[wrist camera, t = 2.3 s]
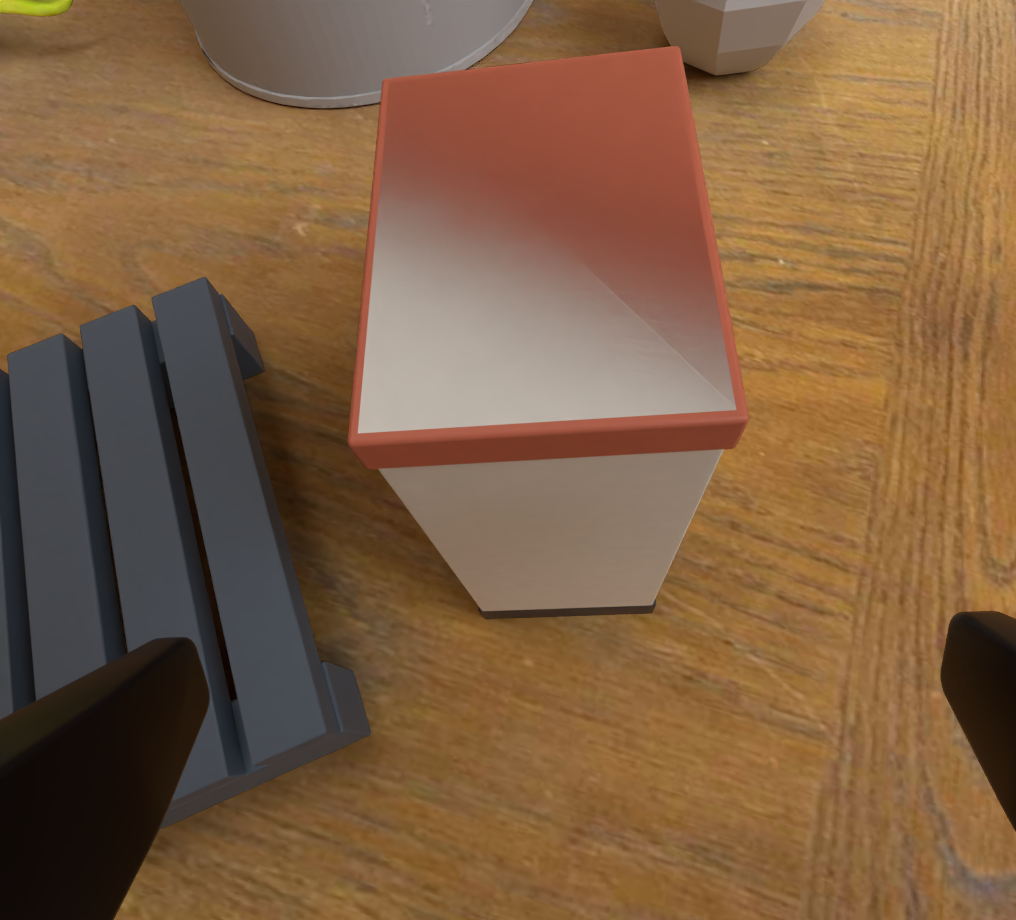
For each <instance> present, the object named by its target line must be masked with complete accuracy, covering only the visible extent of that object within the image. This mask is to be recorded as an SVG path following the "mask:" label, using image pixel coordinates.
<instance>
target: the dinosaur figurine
mask: <svg viewBox="0 0 1016 920" xmlns="http://www.w3.org/2000/svg"><path fill="white" fill-rule="evenodd" d="M72 2H73V0H0V13H6V14H11V13H14V14H21V15H30V16H55V15H58V14H61V13H64V12H66V11H67V10H68V9H69V8H70V7H71V5H72Z"/></svg>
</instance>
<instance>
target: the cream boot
mask: <svg viewBox="0 0 1016 920" xmlns="http://www.w3.org/2000/svg"><path fill="white" fill-rule="evenodd" d="M748 420H749V414H748V408H747V403H746V398H745V392H744V387H743V382H742V376H741V371H740V365H739V360H738V355H737V349H736V344H735V339H734V333H733V328H732V323H731V317H730V312H729V306H728V301H727V296H726V290H725V285H724V280H723V274H722V269H721V263H720V258H719V253H718V247H717V242H716V237H715V231H714V226H713V221H712V215H711V210H710V204H709V199H708V194H707V188H706V183H705V178H704V172H703V167H702V162H701V156H700V151H699V145H698V140H697V135H696V129H695V124H694V119H693V113H692V108H691V102H690V97H689V92H688V86H687V81H686V76H685V70H684V65H683V60H682V54H681V50H680V47H678V46H670V47H661V48H652V49H643V50H634V51H625V52H616V53H608V54H599V55H590V56H581V57H572V58H563V59H555V60H546V61H537V62H528V63H519V64H510V65H501V66H493V67H484V68H475V69H466V70H457V71H448V72H439V73H431V74H422V75H413V76H404V77H395V78H386V79H384V80H383V81H382V89H381V100H380V110H379V120H378V131H377V141H376V151H375V162H374V172H373V183H372V193H371V203H370V214H369V224H368V235H367V245H366V255H365V266H364V276H363V286H362V297H361V307H360V318H359V328H358V338H357V349H356V359H355V370H354V380H353V390H352V401H351V411H350V421H349V432H348V445H349V447H350V448H351V450H352V451H353V452H354V453H355V455H356V456H357V457H358V459H359V460H360V461H361V462H362V464H363V465H364V466H365V468H368V469H378V470H379V471H380V473H381V474H382V475H383V477H384V478H385V479H386V481H387V482H388V483H389V485H390V486H391V488H392V489H393V490H394V492H395V493H396V494H397V496H398V497H399V498H400V500H401V501H402V502H403V504H404V505H405V507H406V508H407V509H408V511H409V512H410V513H411V515H412V516H413V517H414V519H415V520H416V522H417V523H418V524H419V526H420V527H421V528H422V530H423V531H424V532H425V534H426V535H427V537H428V538H429V539H430V541H431V542H432V543H433V545H434V546H435V547H436V549H437V550H438V552H439V553H440V554H441V556H442V557H443V558H444V560H445V561H446V562H447V564H448V565H449V566H450V568H451V569H452V571H453V572H454V573H455V575H456V576H457V577H458V579H459V580H460V581H461V583H462V584H463V586H464V587H465V588H466V590H467V591H468V592H469V594H470V595H471V596H472V598H473V599H474V601H475V602H476V603H477V605H478V606H479V612H480V613H481V615H482V616H483V617H484V618H485V619H497V618H527V617H556V616H585V615H614V614H643V613H652V612H653V610H654V608H655V606H656V596H657V594H658V592H659V589H660V587H661V585H662V583H663V581H664V579H665V576H666V574H667V572H668V570H669V568H670V566H671V563H672V561H673V559H674V557H675V555H676V553H677V550H678V548H679V546H680V544H681V542H682V540H683V537H684V535H685V533H686V531H687V529H688V526H689V524H690V522H691V520H692V518H693V516H694V513H695V511H696V509H697V507H698V505H699V503H700V500H701V498H702V496H703V494H704V492H705V490H706V487H707V485H708V483H709V481H710V479H711V476H712V474H713V472H714V470H715V468H716V466H717V463H718V461H719V459H720V457H721V455H722V453H723V450H724V449H732V448H734V447H736V445H737V443H738V441H739V439H740V437H741V435H742V433H743V431H744V429H745V427H746V425H747V423H748Z"/></svg>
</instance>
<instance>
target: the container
mask: <svg viewBox="0 0 1016 920" xmlns="http://www.w3.org/2000/svg"><path fill="white" fill-rule="evenodd" d="M179 1H180V3H181V5H182V7H183V9H184V11H185V12H186V14H187V16H188V18H189V20H190V22H191V23H192V25H193V27H194V29H195V33H196V37H197V40H198V42H199V45H200V47H201V49H202V51H203V53H204V55H205V56H206V58H207V60H208V61H209V63H210V64H211V66H212V67H213V68H214V69H215V71H216V72H217V73H218V74H219V75H221V76H222V77H223V78H224V79H225V80H226V81H228V82H229V83H230V84H232V85H233V86H235V87H237V88H238V89H240V90H242V91H244V92H246V93H248V94H250V95H253V96H256V97H258V98H261V99H264V100H267V101H271V102H275V103H279V104H285V105H291V106H299V107H307V108H339V107H351V106H359V105H367V104H373V103H378V102H380V100H381V89H382V81H383V80H384V79H386V78H395V77H404V76H413V75H422V74H431V73H439V72H448V71H457V70H465V69H467V68H468V67H470V66H471V65H473V64H475V63H476V62H478V61H479V60H481V59H482V58H484V57H485V56H486V55H487V54H489V53H490V52H491V51H492V50H494V49H495V48H496V47H497V46H498V45H499V44H501V43H502V42H503V41H504V40H505V39H506V38H507V37H508V36H509V35H510V34H511V33H512V32H513V30H514V29H515V28H516V27H517V26H518V24H519V23H520V22H521V20H522V19H523V17H524V16H525V15H526V13H527V11H528V9H529V7H530V6H531V4H532V2H533V0H179Z"/></svg>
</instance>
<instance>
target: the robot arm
mask: <svg viewBox="0 0 1016 920" xmlns="http://www.w3.org/2000/svg"><path fill="white" fill-rule="evenodd" d="M941 683H942V688H943V691H944V693H945V696H946V698H947V700H948V702H949V704H950V706H951V708H952V710H953V712H954V714H955V716H956V718H957V720H958V722H959V723H960V725H961V727H962V729H963V731H964V733H965V735H966V737H967V739H968V741H969V743H970V745H971V747H972V749H973V751H974V753H975V755H976V757H977V759H978V761H979V763H980V765H981V767H982V769H983V771H984V773H985V775H986V777H987V779H988V781H989V783H990V785H991V787H992V789H993V790H994V792H995V794H996V796H997V798H998V800H999V802H1000V804H1001V806H1002V808H1003V810H1004V812H1005V813H1006V815H1007V817H1008V819H1009V821H1010V823H1011V824H1012V826H1013V828H1014V829H1015V831H1016V619H1015V618H1012V617H1010V616H1008V615H1005V614H1003V613H1000V612H996V611H976V612H959V613H958V614H956V615H954V616H953V618H952V619H951V621H950V624H949V628H948V634H947V639H946V645H945V650H944V655H943V661H942V666H941ZM209 702H210V691H209V686H208V683H207V680H206V677H205V673H204V670H203V667H202V664H201V660H200V657H199V654H198V651H197V648H196V645H195V643H194V642H193V641H192V640H191V639H189V638H187V637H168V638H157V639H154V640H151V641H149V642H148V643H146V644H144V645H142V646H140V647H138V648H136V649H134V650H132V651H130V652H128V653H127V654H125V655H123V656H121V657H119V658H117V659H115V660H113V661H111V662H109V663H107V664H105V665H104V666H102V667H100V668H98V669H96V670H94V671H92V672H90V673H88V674H86V675H84V676H83V677H81V678H79V679H77V680H75V681H73V682H71V683H69V684H67V685H65V686H63V687H62V688H60V689H58V690H56V691H54V692H52V693H50V694H48V695H46V696H44V697H42V698H40V699H39V700H37V701H35V702H33V703H31V704H29V705H27V706H25V707H23V708H21V709H19V710H18V711H16V712H14V713H12V714H10V715H8V716H6V717H4V718H2V719H0V920H114V918H115V916H116V914H117V912H118V910H119V908H120V906H121V904H122V902H123V900H124V898H125V896H126V894H127V892H128V890H129V888H130V886H131V884H132V883H133V881H134V879H135V877H136V875H137V873H138V871H139V869H140V867H141V865H142V863H143V861H144V859H145V857H146V855H147V853H148V851H149V849H150V847H151V845H152V843H153V841H154V839H155V837H156V835H157V833H158V831H159V829H160V826H161V824H162V822H163V819H164V817H165V815H166V813H167V810H168V808H169V805H170V803H171V801H172V798H173V796H174V793H175V791H176V788H177V786H178V783H179V781H180V778H181V776H182V773H183V771H184V768H185V766H186V763H187V761H188V758H189V756H190V753H191V751H192V748H193V746H194V743H195V741H196V738H197V736H198V733H199V731H200V728H201V726H202V723H203V721H204V718H205V716H206V713H207V710H208V707H209Z"/></svg>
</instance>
